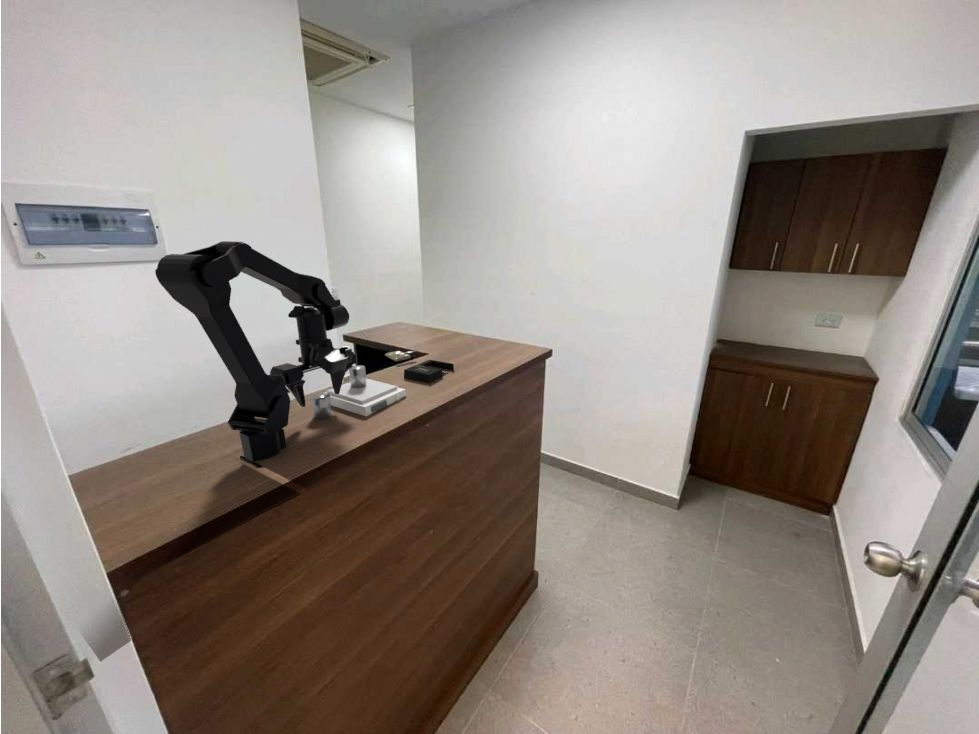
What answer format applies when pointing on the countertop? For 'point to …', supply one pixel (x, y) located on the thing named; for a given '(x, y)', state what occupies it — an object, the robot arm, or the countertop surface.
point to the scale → (366, 397)
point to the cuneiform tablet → (399, 355)
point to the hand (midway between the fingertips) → (320, 399)
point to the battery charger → (427, 371)
